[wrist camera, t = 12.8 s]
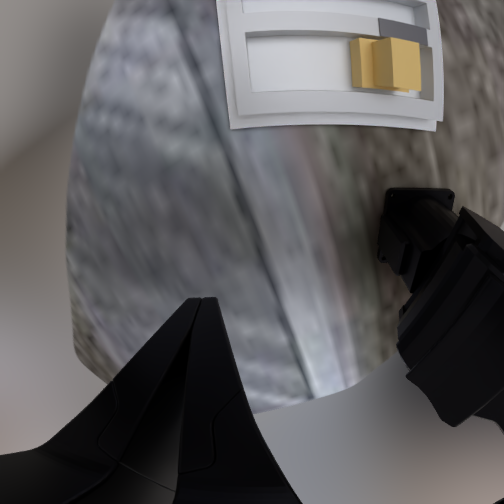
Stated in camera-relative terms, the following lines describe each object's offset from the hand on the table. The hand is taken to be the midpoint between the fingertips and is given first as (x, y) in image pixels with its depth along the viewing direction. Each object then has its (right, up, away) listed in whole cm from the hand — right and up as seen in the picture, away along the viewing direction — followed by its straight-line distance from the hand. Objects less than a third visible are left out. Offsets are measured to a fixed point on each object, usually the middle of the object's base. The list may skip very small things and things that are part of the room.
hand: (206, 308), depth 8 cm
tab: (+9, +13, +5) cm, 16 cm away
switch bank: (+6, +17, +4) cm, 18 cm away
